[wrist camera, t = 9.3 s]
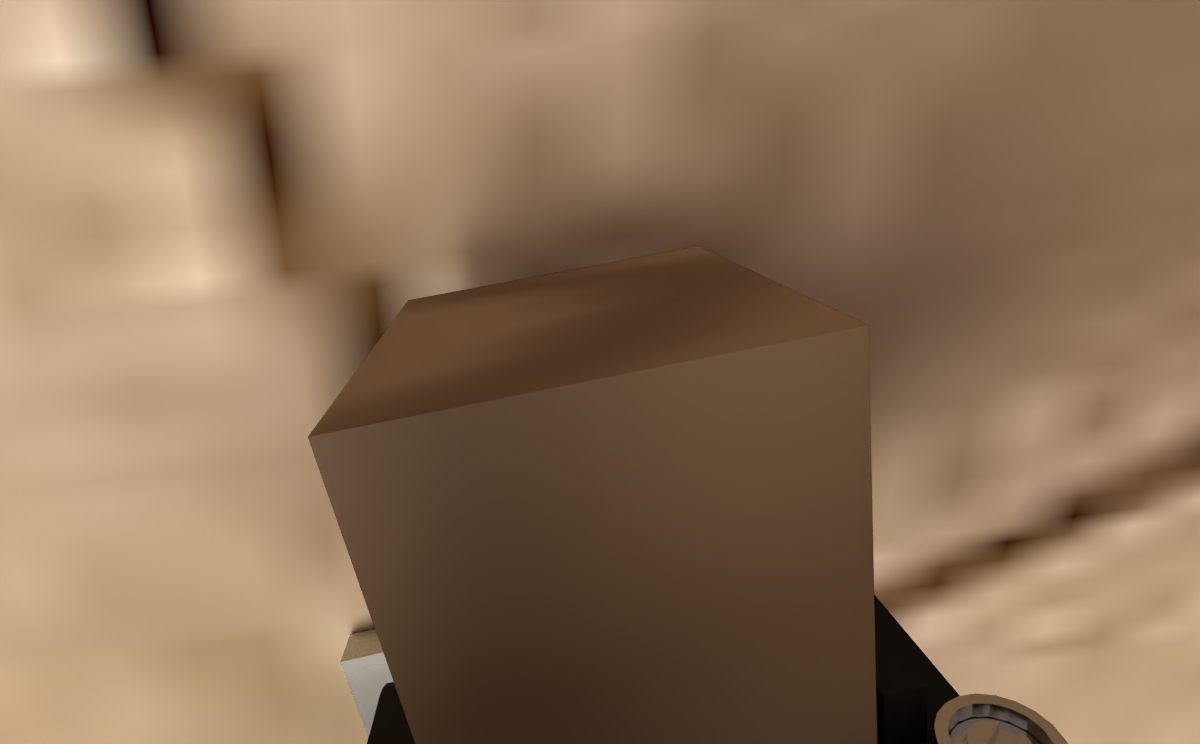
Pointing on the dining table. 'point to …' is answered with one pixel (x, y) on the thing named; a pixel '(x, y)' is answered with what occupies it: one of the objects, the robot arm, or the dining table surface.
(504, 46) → the dining table surface
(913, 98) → the dining table surface
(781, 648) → the walnut rail
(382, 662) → the cup bracket
